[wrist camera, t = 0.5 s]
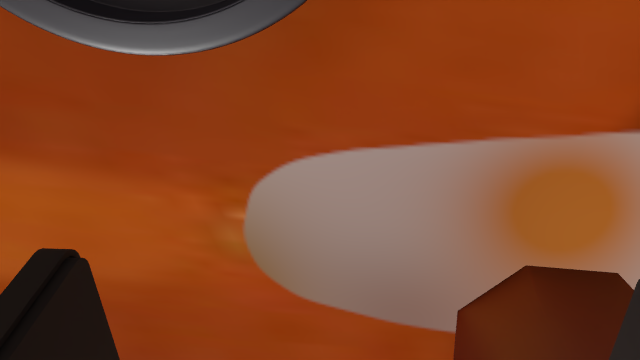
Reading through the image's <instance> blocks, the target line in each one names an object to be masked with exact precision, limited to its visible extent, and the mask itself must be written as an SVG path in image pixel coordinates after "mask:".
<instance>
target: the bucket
mask: <svg viewBox="0 0 640 360" xmlns="http://www.w3.org/2000/svg"><path fill="white" fill-rule="evenodd" d="M633 292H634V290H633V289H632V288H631V287H630V286H629V285H628V284H627V283H626V281H625V280H624V279H623V278H622V277H621V276H620V275H619V274H618V273H609V272H597V271H585V270H573V269H560V268H548V267H536V266H525V267H523V268H522V269H520V270H519V271H517V272H516V273H514V274H513V275H511V276H510V277H508V278H507V279H505V280H504V281H502V282H501V283H499V284H498V285H496V286H495V287H493V288H492V289H490V290H489V291H487V292H486V293H484V294H483V295H481V296H480V297H478V298H477V299H475V300H474V301H472V302H471V303H469V304H468V305H466V306H465V307H463V308H462V309H460V310H459V311H458V314H457V326H456V337H455V349H454V360H609V358H610V355H611V352H612V349H613V347H614V344H615V341H616V339H617V336H618V333H619V330H620V328H621V325H622V322H623V320H624V317H625V314H626V311H627V309H628V306H629V303H630V301H631V298H632V295H633Z"/></svg>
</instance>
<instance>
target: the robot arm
mask: <svg viewBox="0 0 640 360" xmlns="http://www.w3.org/2000/svg"><path fill="white" fill-rule="evenodd" d="M0 360H120V359H119V356H118V353H117V350H116V347H115V343H114V340H113V337H112V334H111V331H110V328H109V325H108V322H107V319H106V315H105V312H104V309H103V306H102V303H101V300H100V297H99V294H98V291H97V288H96V284H95V281H94V278H93V275H92V272H91V269H90V266H89V263H88V261H87V260H86V259H85V258H80V256H79V254H78V252H77V251H75V250H72V249H45V248H42V249H39V250H37V251H36V252H35V253H34V254H33V255H32V257H31V258H30V259H29V260H28V262H27V263H26V264H25V265H24V267H23V268H22V269H21V270H20V271H19V273H18V274H17V275H16V276H15V278H14V279H13V280H12V281H11V282H10V284H9V285H8V286H7V287H6V289H5V290H4V291H3V292H2V294H1V295H0ZM609 360H640V279H639V280H638V282H637V284H636V287H635V290H634V292H633V295H632V298H631V301H630V303H629V306H628V309H627V311H626V314H625V317H624V320H623V322H622V325H621V328H620V330H619V333H618V336H617V339H616V341H615V344H614V347H613V349H612V352H611V355H610V358H609Z"/></svg>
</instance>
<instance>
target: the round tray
mask: <svg viewBox="0 0 640 360" xmlns="http://www.w3.org/2000/svg"><path fill="white" fill-rule="evenodd" d="M306 1H307V0H0V6H1V7H2V8H4V9H5V10H7V11H9V12H11V13H12V14H14V15H16V16H18V17H19V18H21V19H23V20H25V21H27V22H29V23H31V24H33V25H35V26H37V27H39V28H41V29H43V30H46V31H48V32H50V33H53V34H55V35H58V36H60V37H63V38H66V39H68V40H71V41H74V42H77V43H80V44H84V45H87V46H91V47H95V48H99V49H103V50H108V51H113V52H119V53H126V54H135V55H157V56H162V55H179V54H189V53H195V52H201V51H206V50H211V49H215V48H218V47H222V46H225V45H228V44H232V43H235V42H237V41H240V40H242V39H245V38H247V37H250V36H252V35H254V34H256V33H258V32H260V31H262V30H264V29H266V28H268V27H270V26H272V25H273V24H275V23H277V22H278V21H280V20H282V19H283V18H285V17H286V16H287V15H289V14H290V13H292V12H293V11H295V10H296V9H297V8H299V7H300V6H301V5H302V4H304V3H305V2H306Z"/></svg>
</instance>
